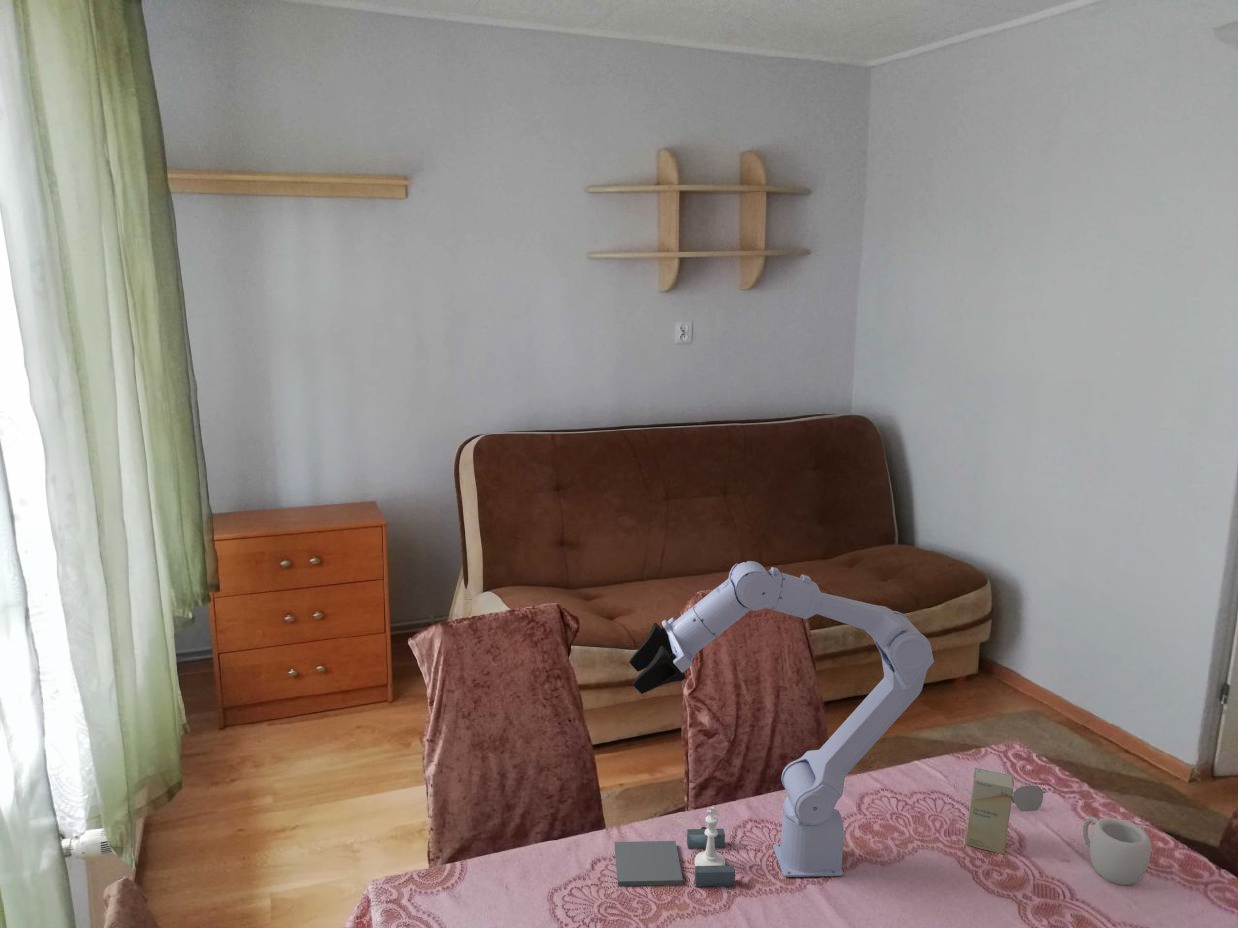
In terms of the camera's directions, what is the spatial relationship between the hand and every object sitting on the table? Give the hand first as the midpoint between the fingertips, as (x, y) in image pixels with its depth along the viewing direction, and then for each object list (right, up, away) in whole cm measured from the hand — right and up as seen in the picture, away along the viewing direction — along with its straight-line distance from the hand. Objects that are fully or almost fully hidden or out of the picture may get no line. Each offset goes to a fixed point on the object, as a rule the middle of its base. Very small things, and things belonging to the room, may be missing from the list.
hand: (635, 677), depth 144 cm
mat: (+2, -31, +7) cm, 32 cm away
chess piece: (+12, -32, +8) cm, 35 cm away
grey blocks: (+12, -32, +8) cm, 35 cm away
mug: (+76, -33, +9) cm, 83 cm away
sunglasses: (+66, -29, +28) cm, 77 cm away
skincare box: (+59, -31, +15) cm, 68 cm away
